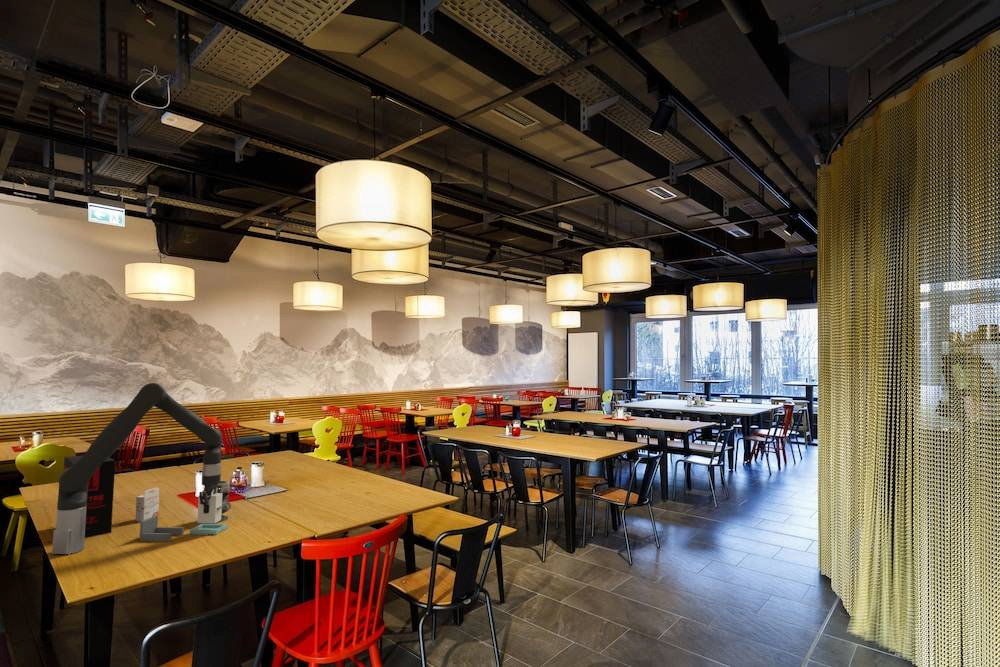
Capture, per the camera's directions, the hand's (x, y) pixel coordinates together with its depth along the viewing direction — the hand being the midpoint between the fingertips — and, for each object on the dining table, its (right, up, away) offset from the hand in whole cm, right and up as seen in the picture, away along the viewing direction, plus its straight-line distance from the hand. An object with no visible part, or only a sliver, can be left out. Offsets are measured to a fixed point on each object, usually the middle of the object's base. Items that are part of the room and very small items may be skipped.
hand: (209, 511), depth 233 cm
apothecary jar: (-7, -10, +17) cm, 21 cm away
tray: (0, -9, -1) cm, 9 cm away
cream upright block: (0, -4, 0) cm, 4 cm away
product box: (-57, -9, 0) cm, 58 cm away
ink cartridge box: (-41, -10, +17) cm, 45 cm away
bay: (-15, -8, -9) cm, 20 cm away
